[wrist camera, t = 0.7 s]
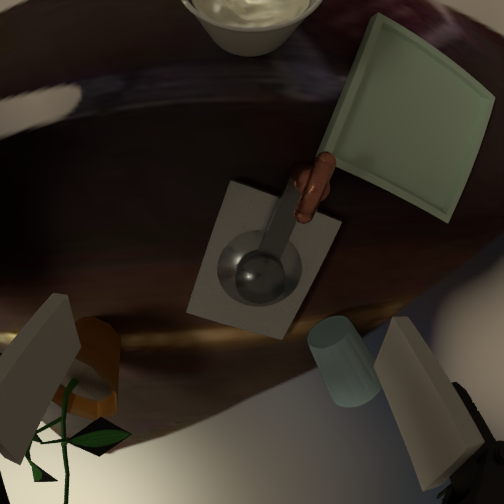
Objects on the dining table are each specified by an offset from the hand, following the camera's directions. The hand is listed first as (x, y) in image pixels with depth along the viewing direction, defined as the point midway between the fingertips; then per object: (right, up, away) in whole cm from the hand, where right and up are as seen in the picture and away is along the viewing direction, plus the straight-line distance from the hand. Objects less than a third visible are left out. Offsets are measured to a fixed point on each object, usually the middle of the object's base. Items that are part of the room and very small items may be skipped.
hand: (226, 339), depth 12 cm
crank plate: (+2, +2, +23) cm, 23 cm away
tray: (+18, +17, +16) cm, 30 cm away
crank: (+4, +6, +19) cm, 21 cm away
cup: (+11, -5, +27) cm, 30 cm away
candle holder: (+1, +26, +13) cm, 29 cm away
